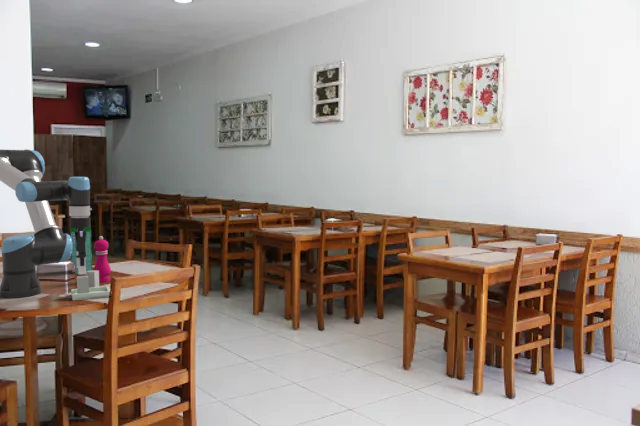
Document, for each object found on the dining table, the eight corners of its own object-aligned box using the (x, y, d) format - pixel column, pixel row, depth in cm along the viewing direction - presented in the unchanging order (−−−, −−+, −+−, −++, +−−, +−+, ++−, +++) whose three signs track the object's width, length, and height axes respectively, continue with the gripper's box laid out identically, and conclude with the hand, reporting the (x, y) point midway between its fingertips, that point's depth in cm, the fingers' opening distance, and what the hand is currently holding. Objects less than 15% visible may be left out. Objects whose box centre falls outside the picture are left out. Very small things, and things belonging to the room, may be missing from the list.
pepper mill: (105, 283, 259) (103, 237, 257) (90, 282, 260) (88, 237, 258) (114, 279, 266) (112, 235, 264) (99, 279, 267) (98, 234, 265)
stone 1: (89, 295, 232) (88, 277, 231) (77, 296, 230) (77, 278, 229) (88, 293, 235) (87, 275, 235) (77, 294, 234) (76, 276, 233)
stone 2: (85, 288, 247) (85, 272, 247) (90, 286, 251) (89, 270, 251) (94, 288, 247) (94, 272, 246) (99, 286, 251) (98, 270, 250)
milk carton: (92, 272, 284) (90, 220, 282) (71, 273, 280) (69, 221, 278) (92, 269, 292) (90, 218, 290) (72, 270, 289) (70, 219, 287)
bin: (72, 300, 226) (72, 294, 226) (71, 294, 236) (71, 289, 236) (111, 296, 232) (111, 291, 232) (108, 291, 242) (108, 286, 242)
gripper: (92, 220, 220) (93, 276, 222) (88, 213, 243) (89, 264, 245) (70, 220, 217) (72, 277, 219) (68, 213, 240) (69, 265, 242)
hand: (81, 270), depth 232 cm, fingers open, 13 cm apart
